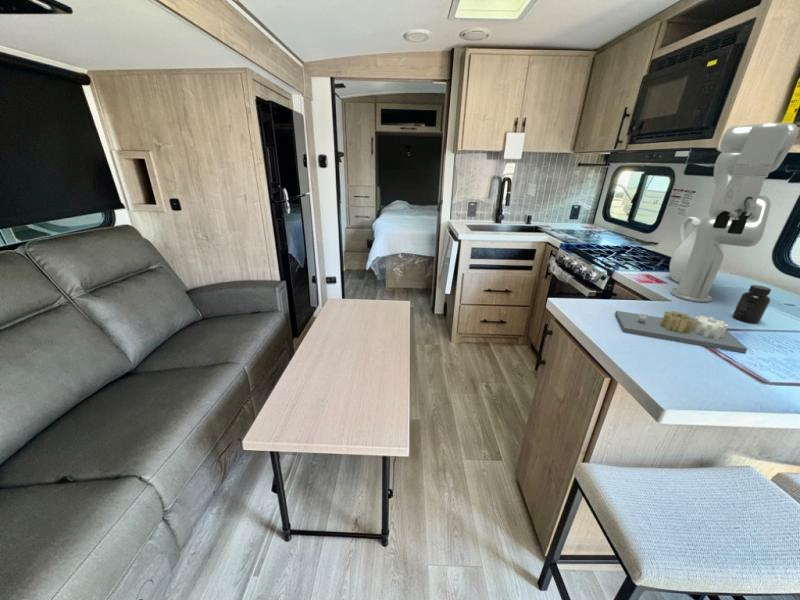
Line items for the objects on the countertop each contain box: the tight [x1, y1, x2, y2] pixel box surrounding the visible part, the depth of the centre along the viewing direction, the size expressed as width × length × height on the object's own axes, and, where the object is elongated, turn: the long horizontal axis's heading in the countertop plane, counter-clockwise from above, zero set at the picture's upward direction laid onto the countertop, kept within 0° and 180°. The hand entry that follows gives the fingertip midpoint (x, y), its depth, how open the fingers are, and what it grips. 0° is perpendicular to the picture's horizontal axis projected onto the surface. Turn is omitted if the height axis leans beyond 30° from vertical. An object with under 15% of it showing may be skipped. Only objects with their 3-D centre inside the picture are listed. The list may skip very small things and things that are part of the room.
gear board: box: [614, 310, 748, 354], centre depth 103 cm, size 14×30×6 cm, turn 68°
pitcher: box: [669, 216, 724, 284], centre depth 146 cm, size 24×17×28 cm
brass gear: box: [660, 310, 695, 333], centre depth 102 cm, size 8×8×4 cm
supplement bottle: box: [732, 284, 772, 324], centre depth 111 cm, size 7×7×12 cm
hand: (726, 230), depth 102 cm, fingers open, 9 cm apart
